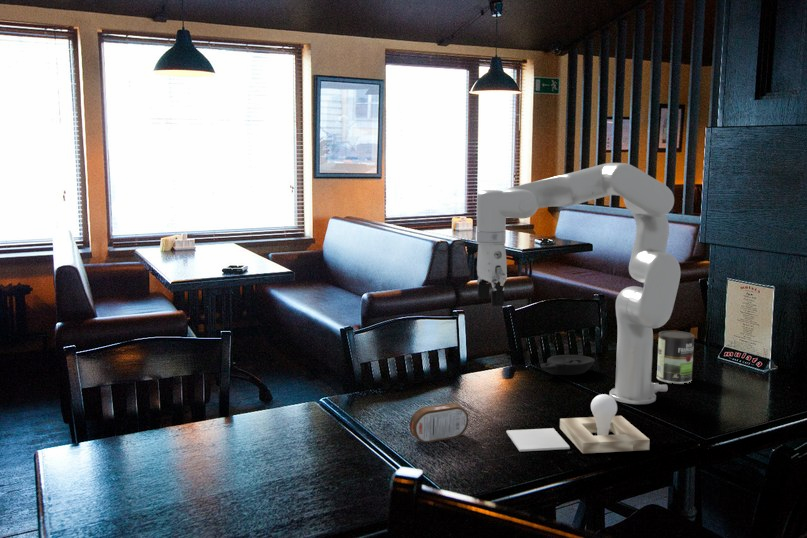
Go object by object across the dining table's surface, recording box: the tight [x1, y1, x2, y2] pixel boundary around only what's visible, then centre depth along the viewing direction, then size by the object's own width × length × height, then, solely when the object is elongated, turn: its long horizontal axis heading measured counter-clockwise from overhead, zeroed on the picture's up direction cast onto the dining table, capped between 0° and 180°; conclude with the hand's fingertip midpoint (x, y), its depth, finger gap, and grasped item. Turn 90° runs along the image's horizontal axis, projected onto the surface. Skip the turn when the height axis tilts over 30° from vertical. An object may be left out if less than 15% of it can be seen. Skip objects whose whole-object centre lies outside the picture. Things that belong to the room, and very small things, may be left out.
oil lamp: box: [539, 354, 596, 376], centre depth 230 cm, size 15×20×5 cm
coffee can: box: [656, 330, 695, 385], centre depth 223 cm, size 10×10×14 cm
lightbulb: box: [590, 393, 618, 436], centre depth 176 cm, size 6×6×11 cm
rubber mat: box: [506, 427, 571, 452], centre depth 176 cm, size 12×12×1 cm
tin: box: [409, 402, 470, 444], centre depth 177 cm, size 15×3×8 cm, turn 114°
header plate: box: [559, 415, 650, 454], centre depth 177 cm, size 16×16×2 cm
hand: (490, 302), depth 194 cm, fingers open, 9 cm apart
